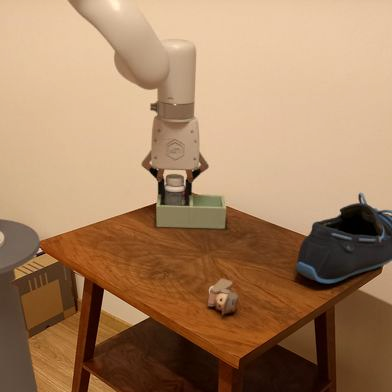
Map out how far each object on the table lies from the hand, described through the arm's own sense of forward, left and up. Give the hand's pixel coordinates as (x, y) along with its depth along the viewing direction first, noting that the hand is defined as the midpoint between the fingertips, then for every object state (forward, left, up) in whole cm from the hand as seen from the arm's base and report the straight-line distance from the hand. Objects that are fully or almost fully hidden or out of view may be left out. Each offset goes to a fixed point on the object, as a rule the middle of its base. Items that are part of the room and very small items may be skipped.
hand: (174, 197), depth 115 cm
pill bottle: (0, 0, -4) cm, 4 cm away
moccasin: (+36, -18, -5) cm, 41 cm away
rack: (+4, 0, -5) cm, 7 cm away
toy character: (+6, -36, -3) cm, 37 cm away
